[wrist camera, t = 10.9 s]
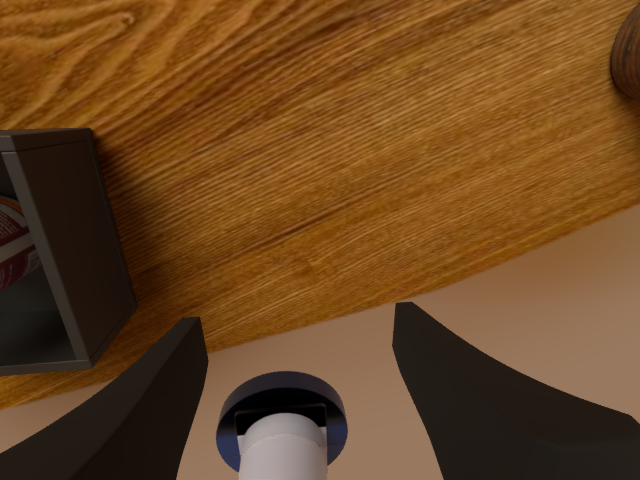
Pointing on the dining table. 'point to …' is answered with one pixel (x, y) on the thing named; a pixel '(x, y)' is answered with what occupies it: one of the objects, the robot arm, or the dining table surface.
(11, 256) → the pill bottle
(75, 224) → the open storage bin
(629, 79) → the utensil holder
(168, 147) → the dining table surface
